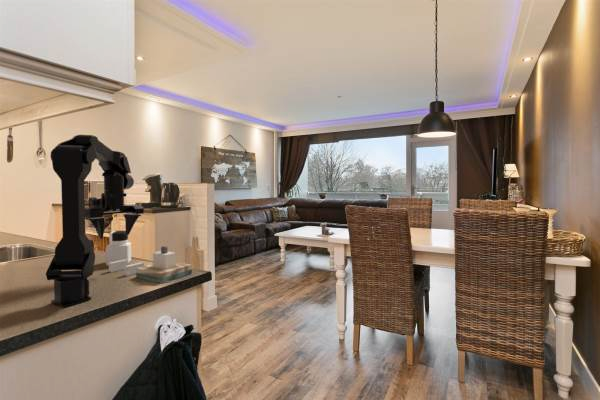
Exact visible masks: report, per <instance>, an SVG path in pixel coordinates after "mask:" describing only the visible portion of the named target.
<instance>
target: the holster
mask: <svg viewBox="0 0 600 400" xmlns="http://www.w3.org/2000/svg"><path fill="white" fill-rule="evenodd" d="M142 266H145V263H144V262H136V263H133V264H129V263H128V260H127V259H124V260H120V261H115V262H111V263H109V266H108V273H114V272H118V271H123V270H124V276H126V277H128V276H132V275H136V268H138V267H142Z"/></svg>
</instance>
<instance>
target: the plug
mask: <svg viewBox="0 0 600 400" xmlns="http://www.w3.org/2000/svg"><path fill="white" fill-rule="evenodd" d="M176 259H177V254H176V252H173V251H168V246H167V245H163V246H161V247H160V251H155V252H153V253H152V264H153V268H158V269H163V270H168V269H171V268H175V267H176V262H177V260H176Z"/></svg>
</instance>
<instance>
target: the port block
mask: <svg viewBox="0 0 600 400" xmlns="http://www.w3.org/2000/svg"><path fill="white" fill-rule="evenodd" d="M191 273H193V264H191V263H190V264H189V263H184V262H179V261H178V262H177V261H176V267H175V268H171V269H168V270H163V269H158V268H153V263H151V264H150V263H149V264H147V265H144V266H142V267H138V268H136V274H135V276H136V278H137V279H142V280H147V281H150V282H156V283H159V282H160V283H159V284H164V283H167V282H170V281H173V280H172V279H174V280H176V278H177V279H179V277H180V278H183V277H185V275H186V276H188V274H189V275H192V274H191ZM182 276H183V277H182ZM169 280H170V281H169ZM166 281H167V282H166ZM163 282H164V283H163Z"/></svg>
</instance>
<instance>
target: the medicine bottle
mask: <svg viewBox="0 0 600 400" xmlns="http://www.w3.org/2000/svg"><path fill="white" fill-rule="evenodd" d="M108 235H109V240H108V241H109V244H107V245H106V246H105V265H106V266H108V267H109V263H111V262H115V261H120V260H124V259H127V260H128V264H129V263H130V262H131V261H132V243H131V241H129V235H126V230H113V231H111V232H110V233H109V234H108Z"/></svg>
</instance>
